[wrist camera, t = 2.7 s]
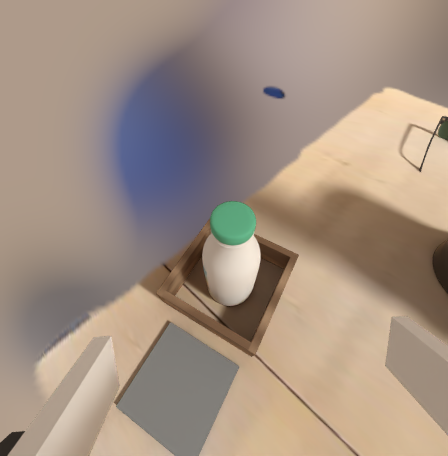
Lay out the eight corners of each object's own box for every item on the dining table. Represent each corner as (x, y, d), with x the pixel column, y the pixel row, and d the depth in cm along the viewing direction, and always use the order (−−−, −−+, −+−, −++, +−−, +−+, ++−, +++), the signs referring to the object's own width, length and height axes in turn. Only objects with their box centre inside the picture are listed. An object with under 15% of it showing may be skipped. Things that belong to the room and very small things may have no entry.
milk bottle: (261, 281, 40) (288, 214, 23) (233, 317, 37) (239, 270, 20) (227, 254, 43) (228, 176, 26) (197, 286, 40) (177, 221, 23)
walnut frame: (213, 229, 46) (212, 214, 41) (291, 267, 41) (298, 254, 37) (163, 301, 38) (156, 293, 34) (251, 356, 34) (255, 354, 30)
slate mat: (171, 322, 37) (170, 322, 36) (239, 366, 33) (239, 366, 33) (117, 406, 31) (115, 406, 31) (192, 468, 28) (192, 469, 27)
